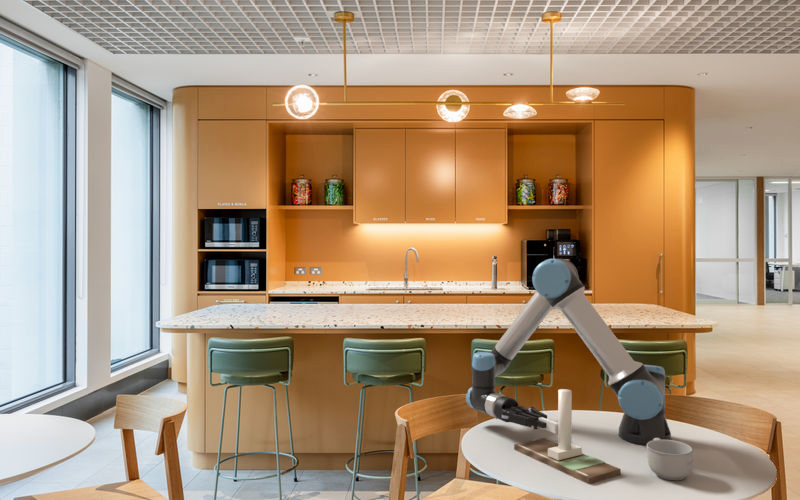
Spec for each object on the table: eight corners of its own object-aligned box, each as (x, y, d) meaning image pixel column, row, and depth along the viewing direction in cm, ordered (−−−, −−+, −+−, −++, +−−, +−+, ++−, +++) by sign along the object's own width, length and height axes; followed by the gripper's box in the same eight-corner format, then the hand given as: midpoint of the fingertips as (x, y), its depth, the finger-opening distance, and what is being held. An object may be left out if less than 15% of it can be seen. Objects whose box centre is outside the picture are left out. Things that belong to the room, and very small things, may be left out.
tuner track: (514, 449, 165) (514, 443, 165) (544, 442, 171) (544, 437, 171) (588, 483, 141) (588, 477, 141) (620, 474, 147) (620, 468, 147)
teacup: (698, 486, 140) (698, 454, 140) (651, 482, 142) (651, 451, 142) (681, 465, 154) (681, 436, 154) (639, 462, 156) (639, 433, 156)
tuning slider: (547, 455, 155) (547, 391, 155) (570, 450, 160) (571, 387, 160) (558, 460, 152) (558, 394, 152) (581, 454, 156) (581, 390, 156)
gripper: (518, 416, 181) (573, 437, 160) (486, 422, 174) (539, 445, 154) (518, 393, 181) (573, 411, 160) (486, 398, 174) (539, 418, 154)
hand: (556, 428), depth 157 cm, fingers closed
